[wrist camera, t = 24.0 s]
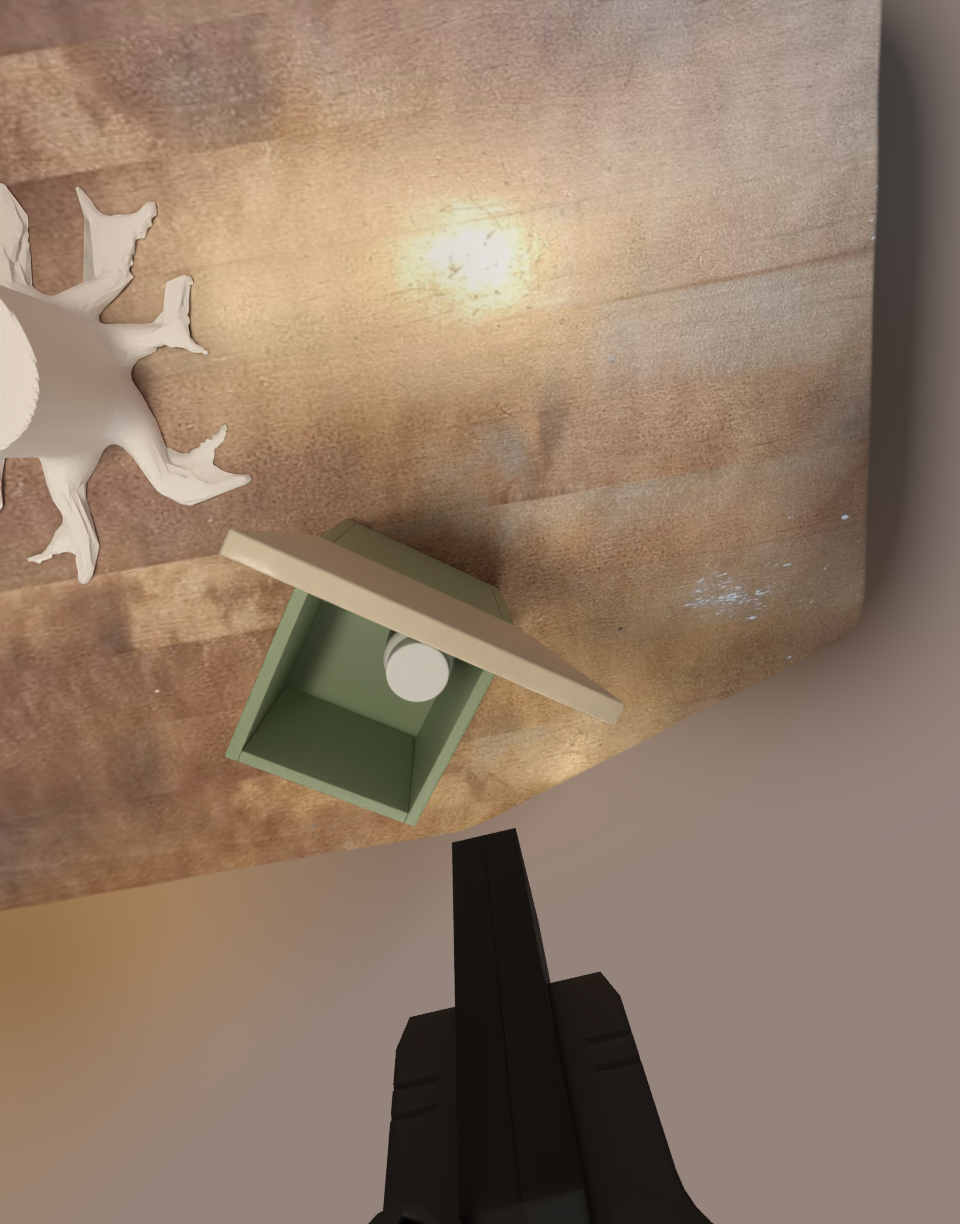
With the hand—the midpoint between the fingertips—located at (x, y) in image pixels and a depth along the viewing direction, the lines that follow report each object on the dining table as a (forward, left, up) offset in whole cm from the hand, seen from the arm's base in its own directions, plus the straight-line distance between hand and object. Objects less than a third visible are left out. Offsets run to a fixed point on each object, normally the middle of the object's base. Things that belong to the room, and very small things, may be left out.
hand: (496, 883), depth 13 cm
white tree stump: (+30, 0, -31) cm, 43 cm away
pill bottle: (+1, +5, -31) cm, 31 cm away
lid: (+3, -2, -12) cm, 13 cm away
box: (+3, +6, -31) cm, 32 cm away
